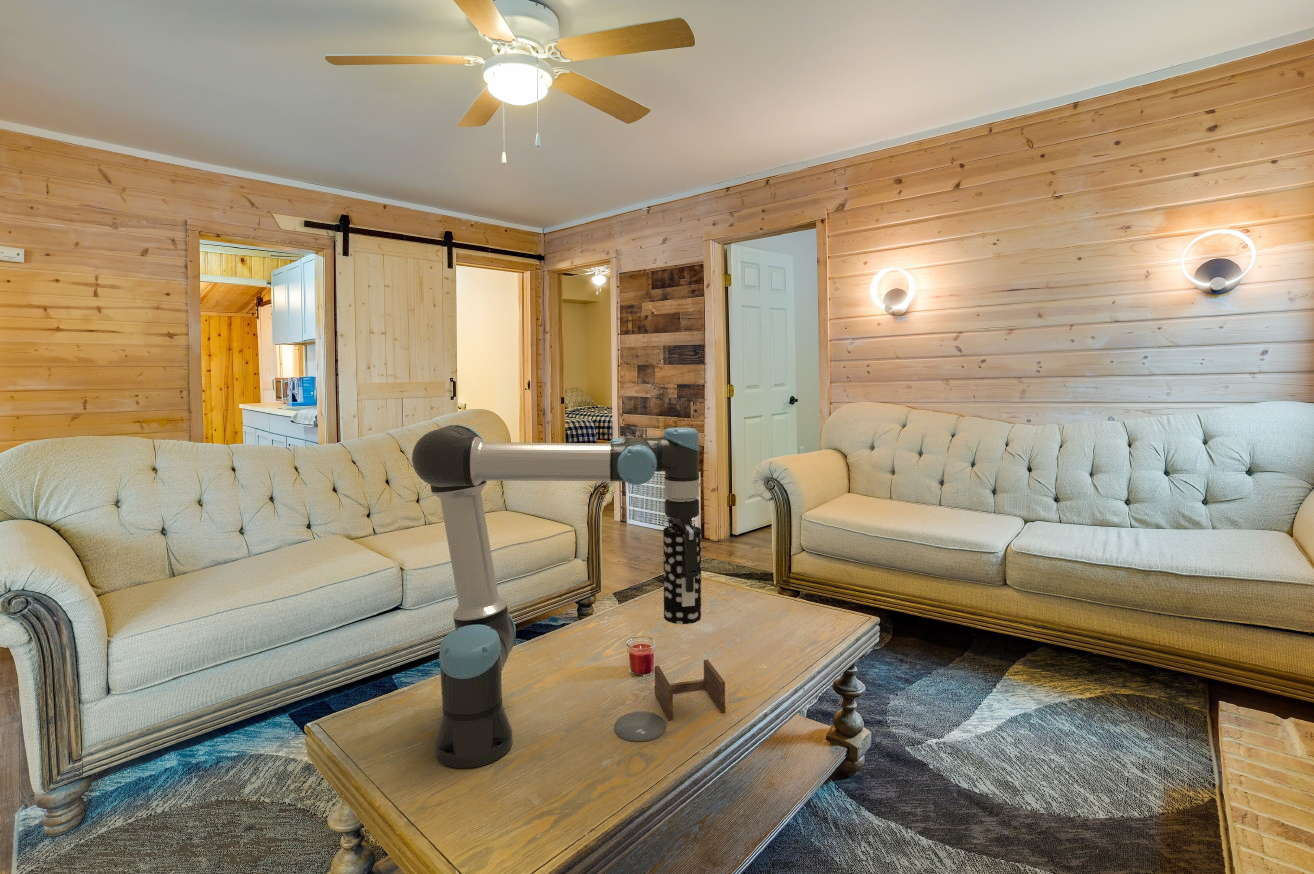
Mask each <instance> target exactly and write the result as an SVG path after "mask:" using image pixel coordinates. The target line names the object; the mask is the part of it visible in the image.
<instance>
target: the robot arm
mask: <svg viewBox="0 0 1314 874" xmlns="http://www.w3.org/2000/svg"><path fill="white" fill-rule="evenodd" d="M699 439H700V438H699V432H698V430H697V429H695V428H693V427H667V428H666V429H665V430H664V434H663V436H660V437H627V436H625V437H616V438H615V437H614V438H612V439H611V440H610V441H609V443H591V442H590V443H586V442H585V443H584V442H583V443H582V442H579V443H575V442H559V443H558V442H513V441H512V442H508V441H507V442H505V441H504V442H503V441H501V442H499V441H495V442H493V441H484V439H483V437H482V436H481V435H480V434H479V433H478V432H477V431H476V430H475V429H473V428H471V427H469V426H465V425H461V424H450V425H445V426H443V427H441V428H437V429H434V430H432V431H429V432H427V433H425V434H424V435H422V436H421V437H420V438H419V439H418V440H417V441H416V443H415V445H414V446H413V449H412V453H411V461H412V462H411V463H412V467H413V470H414V472H415V473H416V475H417V476H418V477H419V478H420V479H421V480H422V481H423V482H424V483H426V484H428V485H429V486H430V490H431V491H430V492H431V494H432V495H434V496H436V497H437V498H438V499H439V500H440V506H441V510H442V511H441V512H442V516H443V517H442V518H443V522H444V528H445V529H444V530H445V533H446V534H445V535H446V540H447V545H448V550H449V551H448V552H449V556H450V562H451V569H452V575H453V581H454V586H455V591H456V592H455V593H456V597H457V604H458V606H457V607H456V609H455V610H454V612H453V614H452V618H453V623H454V628H455V630H452V631H450V632H449V633H447V635H445V636H444V638H443V639H442V641H441V643H440V646H439V655H438V663H439V667H440V668H439V670H440V685H441V687H440V688H441V703H442V704H441V705H442V717H441V721H440V724H439V727H438V730H437V735H436V738H435V742H434V750H435V751H434V752H435V758H436V759H437V761H438V762H439V763H440V764H442V765H443V766H446V767H449V768H454V769H474V768H478V767H481V766H486V765H488V764H492V763H493V762H496V761H497V760H499V759H501V758H503V757H504V756H505V755H506V754H507V753H508V752H509V751H510V749H511V748H512V746H513V742H514V741H513V740H514V739H513V729H512V726H511V723H510V721H509V717H508V716H507V714H506V711H505V709H504V706H503V689H502V687H503V685H502V684H503V683H502V674H503V673H502V672H503V670H504V667H505V664H506V663H507V659H508V658H509V655H510V653H511V652H512V649H513V648H514V645H515V642H516V636H517V635H516V634H517V633H516V632H517V631H516V624H515V621H514V618H513V617H512V616H511V614H510V613H509V610H508V609H509V608H508V603H507V601H506V600H505V599H503V598H502V597H501V596H499V593H498V587H497V580H496V575H495V574H496V573H495V569H494V568H495V567H494V562H493V561H494V560H493V556H492V550H491V549H492V548H491V545H490V537H489V533H488V525H487V521H486V520H487V519H486V515H485V513H486V512H485V508H484V507H485V506H484V502H483V497H482V496H483V495H482V491H483V489H484V488H485V487H486V486H487V484H488V481H491V482H492V481H497V482H498V481H501V482H503V481H504V482H506V481H508V482H509V481H510V482H511V481H513V482H514V481H515V482H517V481H519V482H523V481H524V482H525V481H526V482H528V481H530V482H531V481H532V482H535V481H536V482H616V483H617V482H621V483H622V482H625V483H627V484H630V485H635V486H640V485H644V484H646V483H648V482H649V481H650V480H651V479H653V477H654V475H655V473H656V472H657V473H661V472H663V473H664V496H665V500H664V515H665V516H666V517H668V519H667V521H668V527H669V526H671V528H672V529H675V532H681V533H683V534H684V549H685V553H684V552H682V567H683V575H680V577H681V578H682V606H683V607H685V606H695V577H696V576H698V574H699V573H698V557H697V530H693V526H694V525H693V524H692V519H693V518H697V517H698V516H699V515H700V500H699V499H698V497H699V496H700V488H699V487H701V486H702V483H701V482H700V441H699Z"/></svg>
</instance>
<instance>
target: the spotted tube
mask: <svg viewBox="0 0 1314 874" xmlns="http://www.w3.org/2000/svg"><path fill="white" fill-rule="evenodd" d="M693 530H697V557H698V573H699V574H698V576H696V577H695V606H685V607H683V606H682V578H681V577H680V575H683V567H682V552H684V553H685V549H684V534H683V533H681V532H675V529H672V528H671V526H669V525H668V526H665V527H664V528H663V619H664V620H665V621H666V622H668V623H671V624H674V625H690V624H694V623H697V622H700V620H702V528H701V527H700V526H695V525H693Z"/></svg>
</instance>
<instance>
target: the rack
mask: <svg viewBox="0 0 1314 874" xmlns="http://www.w3.org/2000/svg"><path fill="white" fill-rule="evenodd" d="M653 690H654V695H655V698H656V699H657V702H658V703H659V705H660V707H661V709H662V711H663V713H664V715H665V716H666V719H667V721H668V722H670V721H674V712H673V711H674V705H673V703H674V702H673V699H674V698H673V695H674V694H679V693H685V692H693V691H701V690H705V692H706V693H707V695H708V697H709V698H710V699H711V700H712V702H713V704H714V705H715V707H716V708H717V709H718V711H719V713H720V714H724V713H726V682H725V680H724V679H723V677H722V676H721V675H720V674H719V672H718V671H717V669H715V667H714V666H713V664H712V663H711V662H710V661H709V659H703V678H702V679H694V680H688V681H680V682H672V683H669V681H668V679H667V676H666V675H665V674H664V672H663V670H662V668H660V665H655V666H654V689H653Z"/></svg>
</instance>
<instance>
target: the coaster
mask: <svg viewBox="0 0 1314 874" xmlns="http://www.w3.org/2000/svg"><path fill="white" fill-rule="evenodd" d="M613 728H614V733H615V734H616V736H617V737H619V738H620V739H622V740H625V741H629V742H631V743H632V742H634V743H644V742H645V743H646V742H650V741H654V740H657V739H658V738H660V737H661V736H663V734H664V733H665V732H666V729H667V722H666V720H665V719H664V718H663V717H662V716H661V715H660V714H657V713H653V712H650V711H649V712H648V711H632V712H630V713H626V714H624V715H621V716H620V717H618V719H616V721H615V722H614V727H613Z"/></svg>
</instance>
